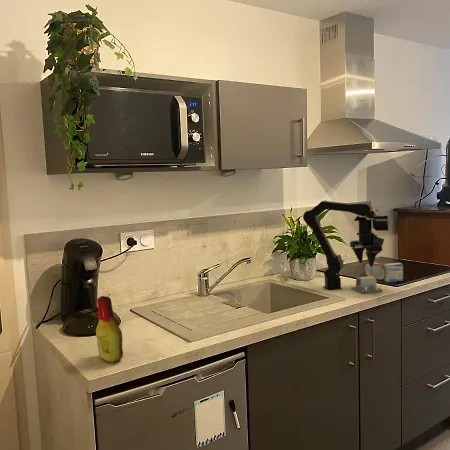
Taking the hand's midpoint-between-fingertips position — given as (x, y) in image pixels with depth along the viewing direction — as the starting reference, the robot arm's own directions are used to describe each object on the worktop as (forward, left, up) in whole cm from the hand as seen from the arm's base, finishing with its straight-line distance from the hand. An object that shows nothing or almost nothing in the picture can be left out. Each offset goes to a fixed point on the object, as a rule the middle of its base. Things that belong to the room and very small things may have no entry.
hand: (365, 264), depth 213 cm
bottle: (-114, -44, -12) cm, 123 cm away
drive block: (0, 0, -11) cm, 11 cm away
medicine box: (+21, +11, -12) cm, 26 cm away
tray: (0, 0, -12) cm, 12 cm away
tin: (+16, +18, -12) cm, 27 cm away
